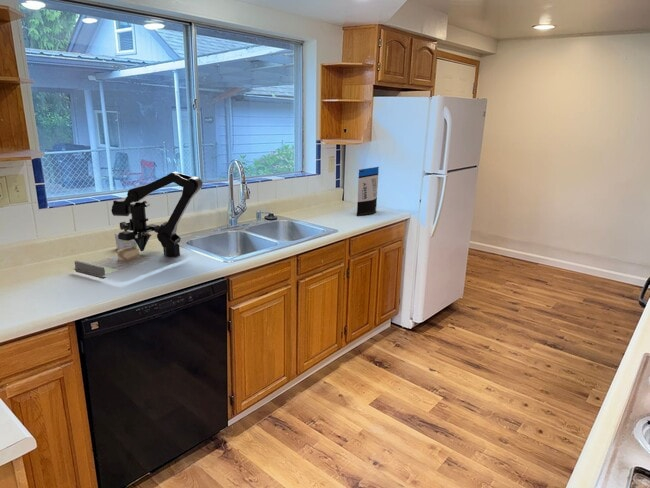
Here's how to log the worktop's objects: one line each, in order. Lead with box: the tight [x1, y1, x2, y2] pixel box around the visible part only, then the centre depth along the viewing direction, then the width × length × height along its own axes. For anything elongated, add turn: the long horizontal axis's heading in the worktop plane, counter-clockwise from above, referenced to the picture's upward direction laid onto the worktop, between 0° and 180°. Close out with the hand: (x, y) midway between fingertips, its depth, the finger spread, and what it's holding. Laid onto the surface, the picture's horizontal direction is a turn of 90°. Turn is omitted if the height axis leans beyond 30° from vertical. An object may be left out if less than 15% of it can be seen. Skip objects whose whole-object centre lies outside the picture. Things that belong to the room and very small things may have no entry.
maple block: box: [116, 247, 140, 262], centre depth 190 cm, size 6×6×4 cm
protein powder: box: [356, 166, 380, 217], centre depth 292 cm, size 10×24×30 cm, turn 143°
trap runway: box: [73, 254, 152, 280], centre depth 184 cm, size 16×24×4 cm, turn 154°
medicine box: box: [114, 230, 138, 250], centre depth 205 cm, size 8×4×9 cm, turn 148°
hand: (142, 250), depth 196 cm, fingers closed
